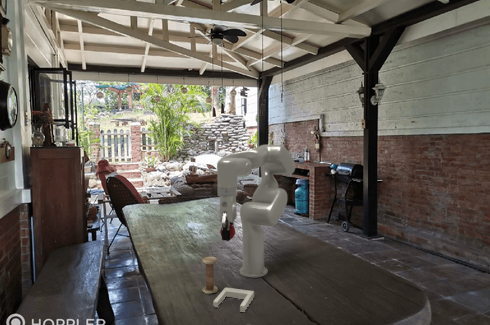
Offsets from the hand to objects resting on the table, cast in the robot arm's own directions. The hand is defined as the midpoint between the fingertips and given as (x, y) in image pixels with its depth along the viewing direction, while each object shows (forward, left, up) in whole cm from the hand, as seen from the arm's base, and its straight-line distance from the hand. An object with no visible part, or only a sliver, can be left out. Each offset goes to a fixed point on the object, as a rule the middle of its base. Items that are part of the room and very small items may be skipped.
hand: (227, 237), depth 134 cm
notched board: (+8, +5, -22) cm, 24 cm away
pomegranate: (0, 0, -2) cm, 2 cm away
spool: (+2, -7, -22) cm, 23 cm away
